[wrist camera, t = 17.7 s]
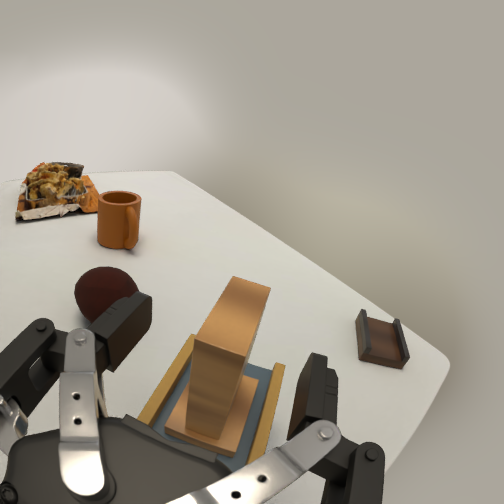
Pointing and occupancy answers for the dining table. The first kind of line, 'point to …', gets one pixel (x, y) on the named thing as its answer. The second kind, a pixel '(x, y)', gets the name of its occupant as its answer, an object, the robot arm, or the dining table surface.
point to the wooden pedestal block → (221, 372)
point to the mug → (118, 219)
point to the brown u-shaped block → (381, 341)
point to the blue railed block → (258, 416)
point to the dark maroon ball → (102, 290)
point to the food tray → (56, 191)
